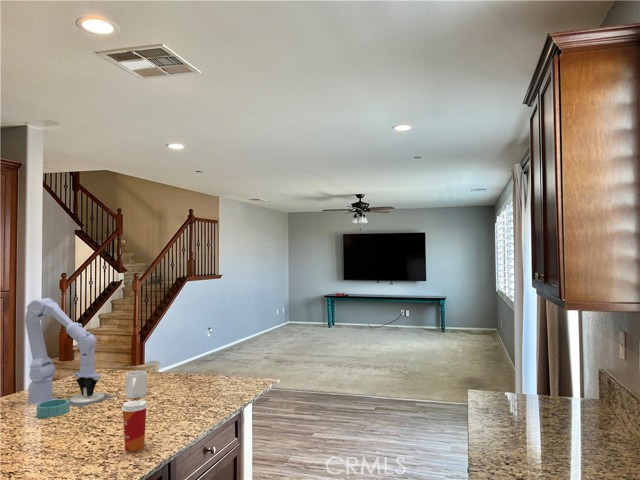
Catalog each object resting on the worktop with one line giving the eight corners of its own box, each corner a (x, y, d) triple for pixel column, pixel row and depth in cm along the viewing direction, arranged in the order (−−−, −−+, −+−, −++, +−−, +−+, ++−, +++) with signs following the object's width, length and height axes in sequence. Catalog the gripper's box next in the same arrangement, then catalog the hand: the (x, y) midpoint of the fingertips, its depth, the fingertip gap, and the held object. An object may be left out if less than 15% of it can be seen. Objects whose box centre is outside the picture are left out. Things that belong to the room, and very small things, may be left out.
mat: (58, 402, 194) (58, 401, 194) (92, 392, 208) (92, 391, 208) (81, 408, 186) (81, 407, 186) (115, 397, 200) (115, 396, 200)
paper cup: (126, 443, 149) (126, 400, 150) (150, 442, 150) (150, 399, 150) (117, 453, 141) (117, 407, 142) (143, 452, 142) (143, 406, 143)
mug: (143, 401, 194) (143, 376, 195) (122, 402, 192) (122, 378, 193) (147, 393, 206) (147, 370, 206) (127, 394, 204) (128, 371, 204)
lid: (63, 401, 194) (63, 389, 194) (91, 393, 205) (91, 381, 206) (82, 405, 188) (82, 393, 188) (110, 397, 199) (110, 385, 199)
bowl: (30, 415, 178) (30, 405, 178) (58, 407, 187) (58, 397, 188) (47, 420, 172) (47, 409, 173) (74, 411, 182) (74, 401, 182)
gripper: (68, 363, 197) (67, 395, 197) (89, 366, 190) (89, 399, 190) (83, 360, 203) (82, 391, 203) (104, 363, 197) (104, 395, 196)
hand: (87, 395), depth 197 cm, fingers closed on lid, 3 cm apart
